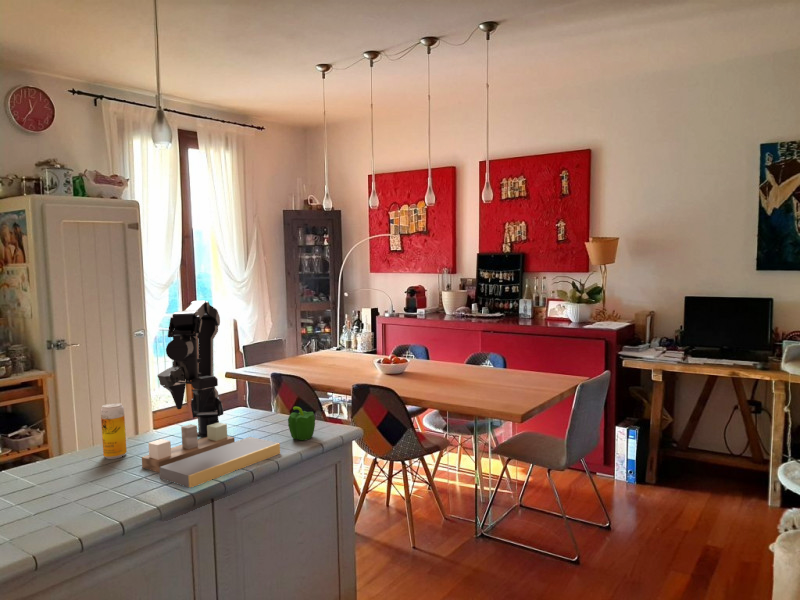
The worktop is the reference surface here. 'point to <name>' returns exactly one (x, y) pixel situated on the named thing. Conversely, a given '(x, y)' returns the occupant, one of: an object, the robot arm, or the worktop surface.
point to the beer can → (113, 430)
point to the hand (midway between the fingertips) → (189, 410)
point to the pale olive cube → (217, 431)
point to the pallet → (185, 448)
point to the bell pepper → (301, 424)
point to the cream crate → (159, 449)
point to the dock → (219, 461)
